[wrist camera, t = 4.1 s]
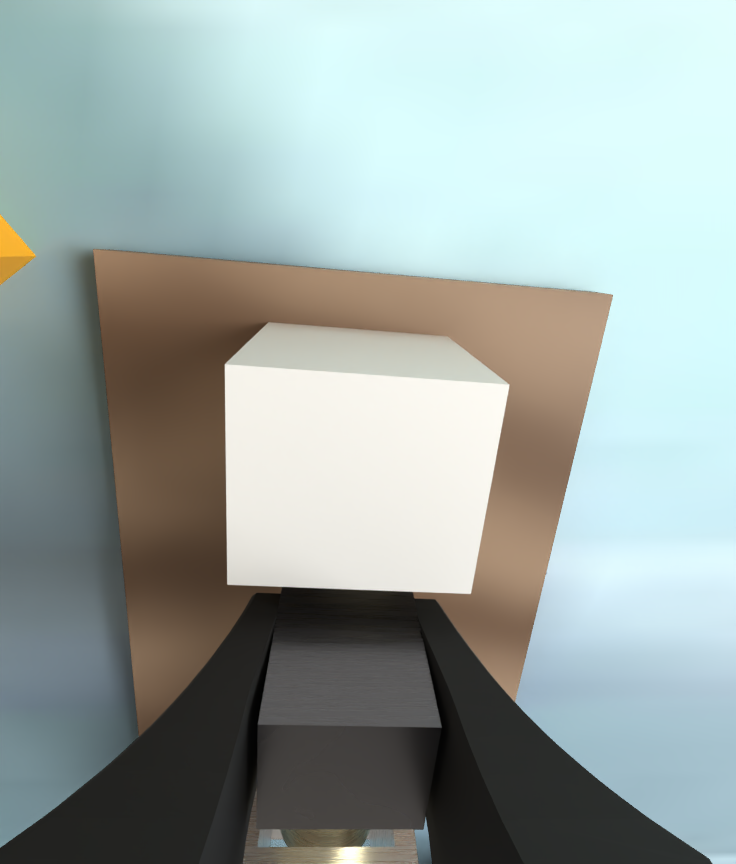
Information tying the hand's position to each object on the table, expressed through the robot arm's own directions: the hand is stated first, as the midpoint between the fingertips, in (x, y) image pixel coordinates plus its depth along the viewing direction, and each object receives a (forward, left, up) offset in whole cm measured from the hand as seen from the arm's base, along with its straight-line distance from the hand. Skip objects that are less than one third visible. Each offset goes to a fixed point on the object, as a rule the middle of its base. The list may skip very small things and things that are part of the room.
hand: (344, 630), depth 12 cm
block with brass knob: (-2, 0, -3) cm, 3 cm away
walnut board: (-3, 0, -5) cm, 6 cm away
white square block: (+4, 0, -4) cm, 6 cm away
